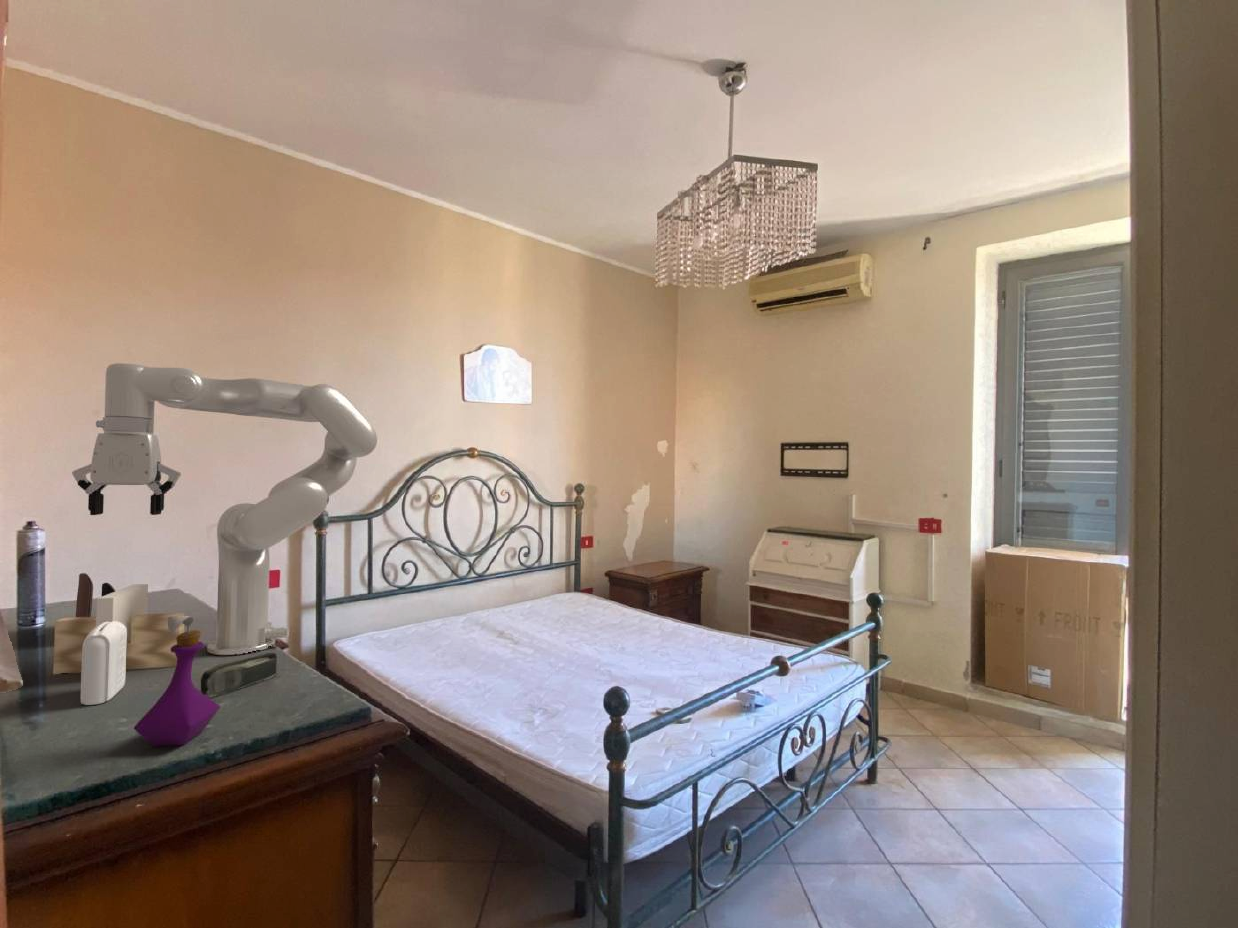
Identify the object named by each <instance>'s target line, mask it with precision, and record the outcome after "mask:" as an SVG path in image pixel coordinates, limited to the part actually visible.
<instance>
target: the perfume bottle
mask: <svg viewBox="0 0 1238 928" xmlns="http://www.w3.org/2000/svg"><path fill="white" fill-rule="evenodd" d="M181 623H183V624H184V626H186V627H187V631H184V633H181V634H180V635H178V636H177V637H176V639H177V644H176V645H174V646H172V647H171V649H170V650H171V652H174V653H175V654H176V657H177V665H176V666H175V668H174V672H173V676H172V678H171V679H170V680H171V681H170V683H169V684H168V686H167V688H166V689H165V691H164V692H163V693H162V695H161V696H160V698H159V699H158V700H157V701H156V703H155V704H154V705H153V706H152V707H151V708H150V709H149V710H148V711H147V712H146V713H145V714H144V716H143V717H141V719H140V720H139V721H138V722H137V723H136V724H135V725H134V727H133V729H134V731H136V732H137V733H138V734H139V735H140V736H141V737H143V738H144V739H146V740H147V742H149V744H151V745H153V746H156V747H158V746H159V747H160V746H167V747H168V746H184V745H187V744H188V743H189V742H190V741H192V740H193V739H195V738H197V737H198V736H199V735H200V734H202V733H203V732H204V730H205V729H206V727H207V726H208V725H209V723H210V722H211V721H212V719H213V718H214V717H215V715H216V714H217V712H218V711H219V710H220V708H221V705H219V704H218V703H216V702H215V701H214V700H212V698H210V699H209V698H208V697H206V696H205V695H203V694H202V692H201V690H199V689H198V688H196V687H195V685H194V683H193V681H192V670H193V669H192V668H193V667H192V666H193V662H194V659H195V656H197V654H198V652H199V651H200V650H202V649H203V648H205V643H204V642H202V641H200V638H201V633H202V632H201V631H200V630H197V629H193V630H190V626H191V625H192V623H194V617H193V616H189V615H188V616H187V615H185V616H173V617H169V618H168V629H169V631H170V632H171V633H173V632H174V631H175V630H176V629H177V628H178V626H179V625H180V624H181Z"/></svg>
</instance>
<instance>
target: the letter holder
mask: <svg viewBox="0 0 1238 928" xmlns="http://www.w3.org/2000/svg"><path fill="white" fill-rule="evenodd" d="M115 591H116V589H115V588H114V586H112V584H110V583H108V582H104V583H102V584H101V596H100V597H102V596H105V595H108V594H110V593H113V592H115ZM93 592H94V584H93V581H92V578H91V577H90V576H89V574H88V573H85V572H82V573H79V575H78V586H77V594H76V605H75V607H76V608H75V617H92V608H93V595H94V593H93Z"/></svg>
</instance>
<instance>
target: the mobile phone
mask: <svg viewBox="0 0 1238 928" xmlns="http://www.w3.org/2000/svg"><path fill="white" fill-rule="evenodd" d="M277 661H278V660H277V653H275V652H267V653H263V654H258V655H254V656H250V657H249V656H248V657H246V658H242V659H239V660H234V661H229V662H224V663H220V664H217V665H215V666H214V667H212V668H210V669H208V670H206V671H204V672H203V674H202V676H201V678H200V692H201V693H202V694H203V695H205V696H206V697H208V698H209V699H213V698H216V697H219V696H222V695H225V694H229V693H232V692H235V691H238V690H240V688H241V689H244V688H247V687H250V686H249V685H251V686H253V685H252V684H254V683H256V682H258V681H262V680H264V679H266V678H268V677H270V676H272V675H274V674H276V675H277V665H278V664H277V663H278V662H277ZM254 685H255V684H254ZM246 686H247V687H246ZM237 689H238V690H237Z"/></svg>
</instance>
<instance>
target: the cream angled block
mask: <svg viewBox="0 0 1238 928" xmlns="http://www.w3.org/2000/svg"><path fill="white" fill-rule="evenodd" d="M148 589H149V584H148V583H142V584H139V583H138V584H132V585H128V586H127V587H124V588H120V589H118V590H115V592H113V593H110V594H108V595H105V596H102V597H101V596H100V597H98V598H96V615H95V617H96V627H97V626H98V625H100V624H102V623H104V622H112V621H118V622H120V623H122V624H123V625H124V626H125V627H126V630H127V643H129V642H130V641H131V618H132V617H134V616H136V615H144V614H148V595H149V593H148V592H149V590H148Z"/></svg>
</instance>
